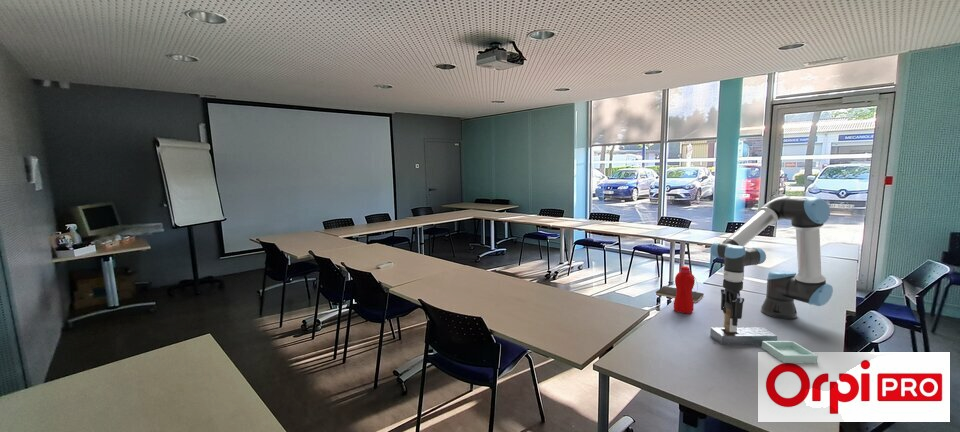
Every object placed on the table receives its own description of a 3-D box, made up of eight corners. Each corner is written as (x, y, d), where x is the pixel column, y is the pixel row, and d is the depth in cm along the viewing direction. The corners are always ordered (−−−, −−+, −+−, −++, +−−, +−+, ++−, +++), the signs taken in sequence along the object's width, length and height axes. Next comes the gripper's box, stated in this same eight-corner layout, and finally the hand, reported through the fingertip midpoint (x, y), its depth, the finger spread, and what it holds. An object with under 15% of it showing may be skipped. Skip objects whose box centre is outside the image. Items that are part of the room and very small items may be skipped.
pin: (731, 337, 177) (733, 301, 175) (738, 342, 172) (741, 305, 170) (720, 337, 177) (722, 301, 175) (726, 342, 172) (729, 305, 170)
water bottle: (695, 316, 203) (697, 270, 199) (672, 311, 209) (674, 267, 206) (697, 310, 210) (700, 266, 207) (675, 306, 216) (677, 263, 213)
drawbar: (762, 335, 178) (763, 327, 178) (776, 344, 169) (777, 336, 169) (710, 335, 179) (710, 327, 179) (721, 344, 170) (721, 336, 170)
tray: (792, 347, 166) (792, 341, 166) (817, 362, 153) (817, 355, 153) (761, 347, 167) (762, 341, 166) (783, 362, 154) (784, 355, 154)
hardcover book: (696, 304, 221) (696, 300, 221) (655, 295, 237) (655, 291, 237) (703, 296, 233) (703, 293, 233) (663, 289, 248) (663, 285, 248)
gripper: (713, 274, 180) (711, 321, 183) (736, 285, 163) (732, 337, 166) (730, 274, 179) (727, 321, 182) (754, 285, 162) (750, 337, 165)
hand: (729, 329), depth 174 cm, fingers closed on pin, 4 cm apart
